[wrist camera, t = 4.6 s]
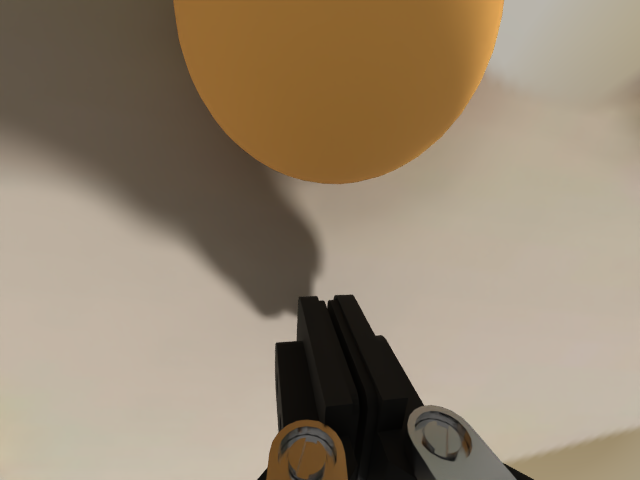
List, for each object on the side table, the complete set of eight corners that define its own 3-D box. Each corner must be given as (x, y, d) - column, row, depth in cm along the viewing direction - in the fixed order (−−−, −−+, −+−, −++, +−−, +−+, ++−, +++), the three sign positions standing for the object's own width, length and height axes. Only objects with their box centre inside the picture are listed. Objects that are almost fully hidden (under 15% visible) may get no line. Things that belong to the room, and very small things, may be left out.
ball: (652, 99, 4) (409, 204, 9) (565, -288, 4) (383, 24, 10) (136, 73, 2) (204, 216, 8) (99, -509, 3) (187, 4, 8)
